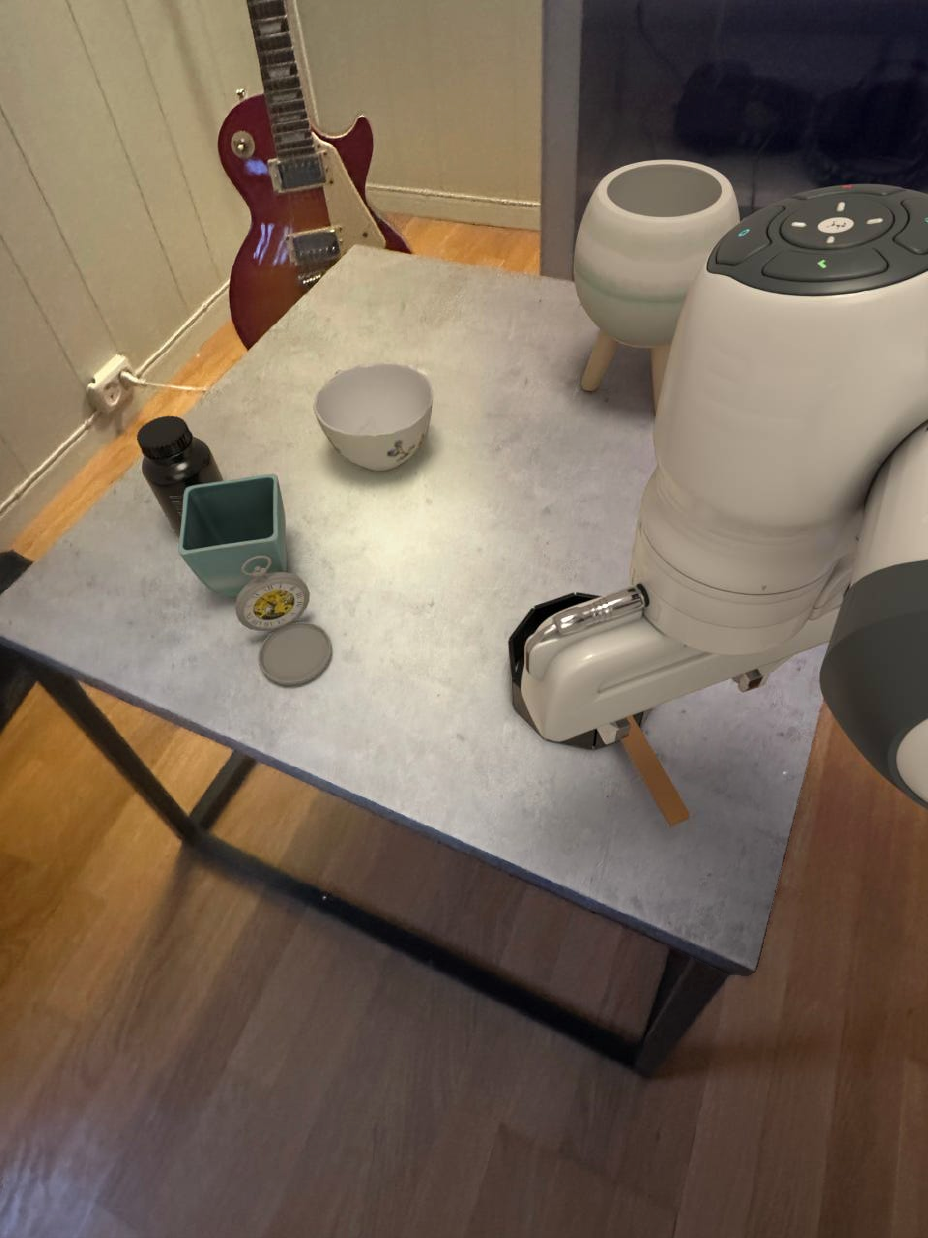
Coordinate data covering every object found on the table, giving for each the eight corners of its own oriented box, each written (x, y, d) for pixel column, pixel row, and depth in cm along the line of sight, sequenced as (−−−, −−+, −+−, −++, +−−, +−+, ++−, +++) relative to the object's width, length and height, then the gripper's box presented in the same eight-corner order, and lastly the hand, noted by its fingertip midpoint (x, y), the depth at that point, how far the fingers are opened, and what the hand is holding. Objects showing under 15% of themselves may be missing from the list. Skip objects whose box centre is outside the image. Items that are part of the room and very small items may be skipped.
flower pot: (300, 535, 78) (277, 470, 71) (302, 601, 73) (277, 538, 66) (216, 549, 78) (183, 485, 71) (212, 616, 73) (176, 554, 66)
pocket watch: (304, 699, 66) (272, 633, 58) (231, 662, 69) (192, 595, 61) (356, 632, 70) (334, 561, 62) (286, 599, 73) (256, 528, 65)
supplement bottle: (248, 502, 82) (210, 412, 72) (220, 548, 78) (176, 460, 68) (192, 493, 83) (148, 404, 74) (162, 538, 80) (111, 450, 70)
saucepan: (747, 812, 58) (762, 786, 54) (593, 875, 56) (597, 853, 52) (616, 607, 70) (621, 575, 66) (486, 653, 68) (484, 622, 64)
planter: (539, 390, 90) (541, 193, 72) (631, 332, 95) (654, 136, 77) (644, 454, 82) (675, 251, 64) (737, 386, 87) (790, 182, 69)
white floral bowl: (461, 460, 83) (455, 400, 77) (363, 510, 80) (349, 452, 73) (393, 394, 91) (382, 335, 85) (301, 437, 88) (282, 378, 81)
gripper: (553, 684, 33) (546, 809, 44) (950, 542, 36) (849, 692, 47) (499, 580, 36) (505, 720, 47) (863, 459, 39) (789, 617, 50)
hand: (679, 705), depth 47 cm, fingers open, 8 cm apart
